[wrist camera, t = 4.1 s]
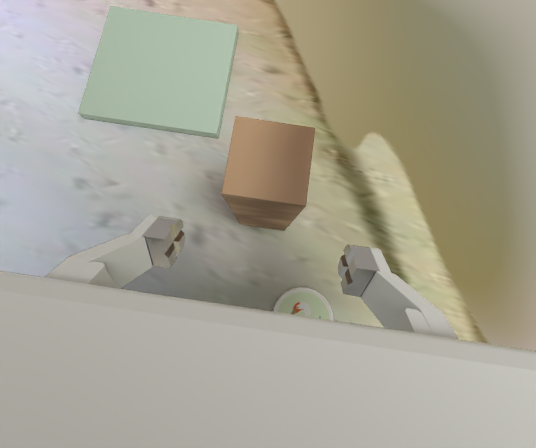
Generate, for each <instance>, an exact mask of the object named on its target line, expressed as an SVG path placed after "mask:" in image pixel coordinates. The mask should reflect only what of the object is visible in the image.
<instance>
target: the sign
mask: <svg viewBox="0 0 536 448" xmlns="http://www.w3.org/2000/svg"><path fill="white" fill-rule="evenodd" d="M273 312H280V313H286V314H293V315H300V316H306V317H313V318H320V319H327V320H333V312H332V309H331V306H330V304H329V303H328V301H327V300H326V299H325V297H324V296H323V295H321V294H320V293H319V292H317V291H316V290H314V289H311V288H308V287H295V288H292V289H289V290H287V291H286V292H284V293H283V294H282V295H281V296H280V297H279V298H278V300H277V301H276V303H275V306H274V308H273Z"/></svg>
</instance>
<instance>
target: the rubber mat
mask: <svg viewBox="0 0 536 448" xmlns="http://www.w3.org/2000/svg"><path fill="white" fill-rule="evenodd" d="M237 38H238V25H233V24H226V23H219V22H213V21H206V20H200V19H193V18H186V17H180V16H173V15H167V14H160V13H153V12H147V11H140V10H134V9H127V8H120V7H114V6H110V9H109V12H108V15H107V19H106V22H105V25H104V29H103V32H102V35H101V39H100V42H99V45H98V49H97V52H96V55H95V59H94V62H93V65H92V69H91V72H90V75H89V79H88V82H87V85H86V89H85V92H84V95H83V99H82V102H81V105H80V109H79V112H78V113H79V114H80V115H81V116H82V117H84V118H85V119H92V120H98V121H105V122H112V123H119V124H125V125H132V126H139V127H146V128H153V129H159V130H166V131H173V132H180V133H186V134H193V135H200V136H207V137H213V138H219V133H220V128H221V122H222V117H223V112H224V107H225V101H226V96H227V91H228V86H229V80H230V75H231V70H232V65H233V59H234V54H235V49H236V44H237Z"/></svg>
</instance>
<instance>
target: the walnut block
mask: <svg viewBox="0 0 536 448" xmlns="http://www.w3.org/2000/svg"><path fill="white" fill-rule="evenodd" d="M314 134H315V128H312V127H306V126H299V125H292V124H285V123H279V122H272V121H265V120H259V119H252V118H245V117H238V116H235V122H234V127H233V133H232V138H231V144H230V149H229V155H228V160H227V166H226V171H225V177H224V182H223V188H222V195H223V196H224V198H225V200H226V201H227V203H228V204H229V206H230V208H231V209H232V211H233V212H234V214H235V215H236V217H237V219H238V220H239V222H240V223H241V224H242V225H249V226H256V227H263V228H270V229H277V230H285V229H286V228H287V227H288V226H289V225H290V223H291V222H292V221H293V220H294V219H295V218H296V217H297V215H298V214H299V213H300V212H301V211H302V210H303V208H304V207H305V206H306V201H307V192H308V184H309V176H310V167H311V159H312V151H313V142H314Z"/></svg>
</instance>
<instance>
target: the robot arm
mask: <svg viewBox="0 0 536 448" xmlns="http://www.w3.org/2000/svg"><path fill="white" fill-rule="evenodd" d="M182 228H183V223H182V220H180V219H175V218H169V217H163V216H156V215H148V216H147V217H146V218H145V219H144V220H143V221H142V222H141V223H140V224H139V225H138V226H137V227H136V228H135V229H134V230H133V232H132V233H131V234H125V235H123V236H120V237H118V238H115V239H113V240H110V241H107V242H105V243H102V244H100V245H97V246H95V247H92V248H90V249H87V250H84V251H82V252H79V253H77V254H74V255H72V256H69V257H68V258H67V259H65V260H64V261H63V262H62V263H61V264H60V265H58V266H57V267H56V268H55V269H54V270H53V271H51V272H50V273H49V274H48V275H47V276H46V277H39V276H32V275H25V274H19V273H12V272H5V271H0V448H536V351H534V350H527V349H521V348H514V347H507V346H500V345H493V344H487V343H480V342H474V341H467V340H460V339H458V337H457V336H456V334H455V332H454V331H453V329H452V327H451V326H450V324H449V322H448V321H447V319H446V317H445V316H444V314H443V313H442V312H441V311H440V310H439V309H437V308H436V307H435V306H434V305H432V304H431V303H430V302H429V301H428V300H426V299H425V298H424V297H423V296H421V295H420V294H419V293H418V292H416V291H415V290H414V289H413V288H411V287H410V286H409V285H408V284H407V283H405V282H404V281H403V280H402V279H400V278H399V277H398V276H397V275H395V274H392V273H391V271H390V269H389V267H388V265H387V263H386V261H385V259H384V257H383V255H382V253H381V250H380V249H378V248H372V247H362V246H355V245H348V244H347V245H346V246H345V248H344V255H343V256H341V257H340V260H339V264H338V273H339V276H340V277H341V278H342V281H341V287H342V291H343V294H347V295H353V296H358V297H361V299H362V300H363V301H364V303H365V304H366V305H367V306H368V308H369V309H370V310H371V311H372V313H373V314H374V315H375V316H376V318H377V319H378V320H379V321H380V323H381V324H382V325H383V326H384V328H380V327H373V326H367V325H360V324H353V323H347V322H340V321H333V320H327V319H320V318H313V317H306V316H300V315H293V314H286V313H280V312H273V311H266V310H260V309H253V308H246V307H240V306H233V305H226V304H220V303H213V302H206V301H199V300H193V299H186V298H179V297H173V296H166V295H159V294H153V293H146V292H139V291H133V290H126V289H120V288H122V287H123V286H125V285H126V284H128V283H129V282H131V281H132V280H134V279H135V278H137V277H138V276H140V275H141V274H143V273H144V272H146V271H147V270H149V269H150V268H152V267H153V266H158V267H166V268H171V267H172V265H173V263H174V262H175V260H176V258H177V257H176V254H177V253H179V252H181V250H182V248H183V245H184V241H185V236H184V233H183V232H182V231H181V229H182Z"/></svg>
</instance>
